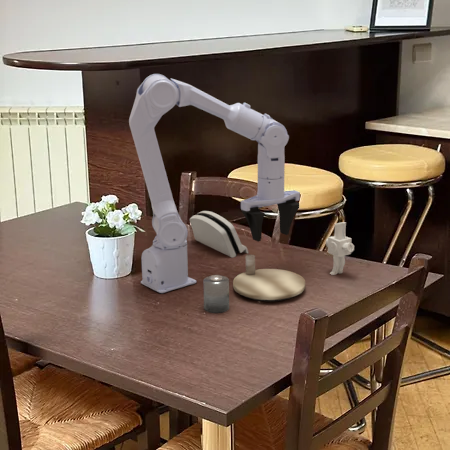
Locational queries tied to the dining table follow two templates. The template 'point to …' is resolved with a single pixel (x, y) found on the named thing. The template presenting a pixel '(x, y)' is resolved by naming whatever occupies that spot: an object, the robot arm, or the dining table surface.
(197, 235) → the grey piece
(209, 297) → the grey short cylinder
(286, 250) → the dining table surface
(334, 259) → the toy robot
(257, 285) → the turntable
